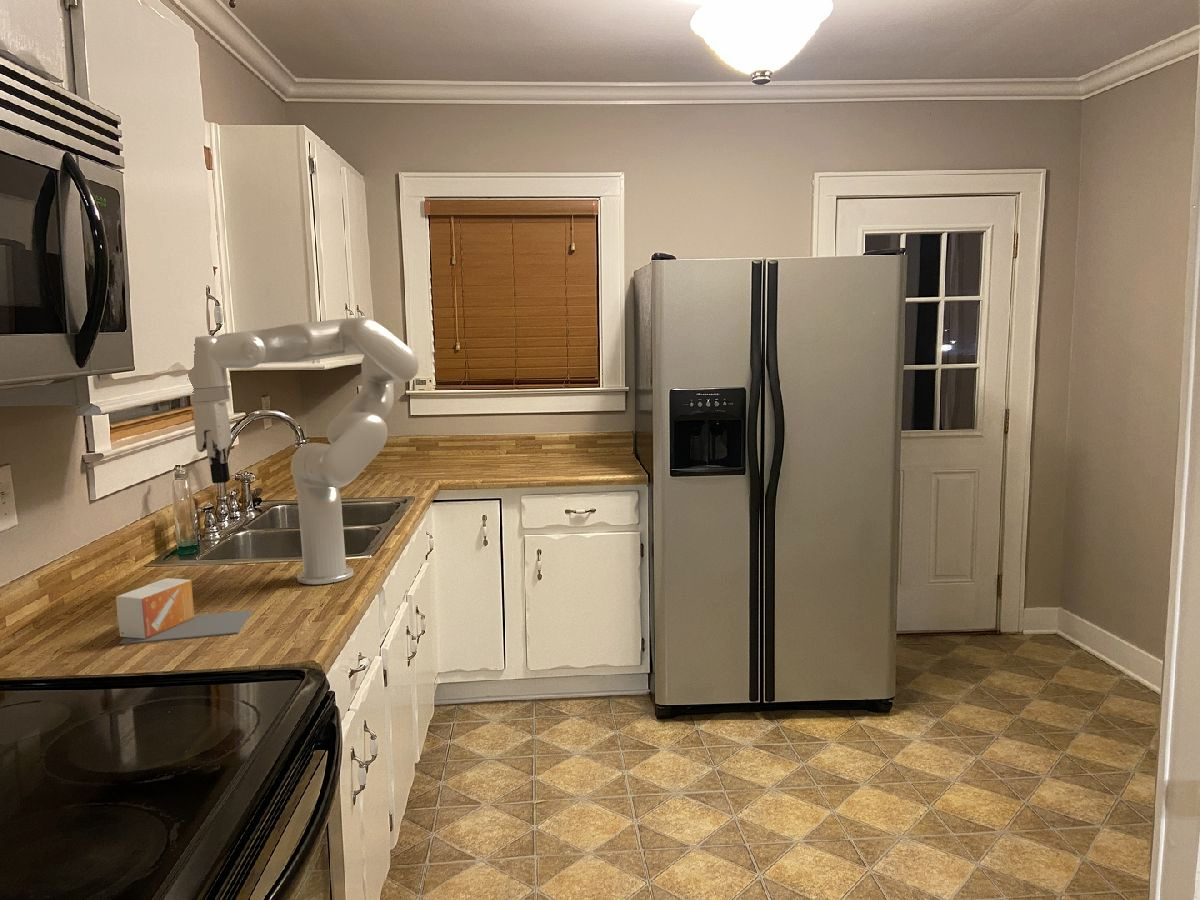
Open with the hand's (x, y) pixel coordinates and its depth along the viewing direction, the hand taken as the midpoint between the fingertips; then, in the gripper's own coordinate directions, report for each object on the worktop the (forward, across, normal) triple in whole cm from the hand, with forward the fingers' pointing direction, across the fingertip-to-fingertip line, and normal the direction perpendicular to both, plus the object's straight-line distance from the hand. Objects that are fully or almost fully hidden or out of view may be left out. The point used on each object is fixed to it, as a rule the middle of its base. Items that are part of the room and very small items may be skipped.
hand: (221, 481), depth 187 cm
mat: (+26, +17, -5) cm, 31 cm away
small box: (+21, +10, -8) cm, 25 cm away
